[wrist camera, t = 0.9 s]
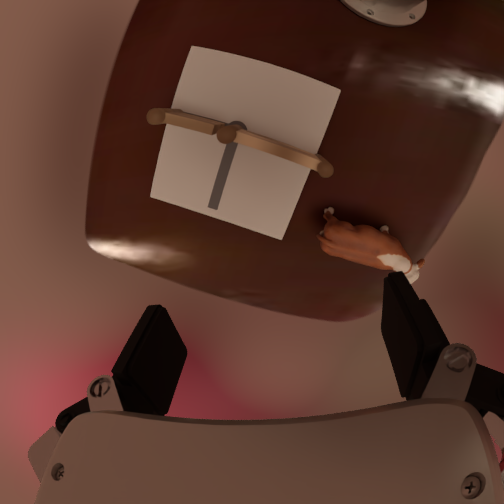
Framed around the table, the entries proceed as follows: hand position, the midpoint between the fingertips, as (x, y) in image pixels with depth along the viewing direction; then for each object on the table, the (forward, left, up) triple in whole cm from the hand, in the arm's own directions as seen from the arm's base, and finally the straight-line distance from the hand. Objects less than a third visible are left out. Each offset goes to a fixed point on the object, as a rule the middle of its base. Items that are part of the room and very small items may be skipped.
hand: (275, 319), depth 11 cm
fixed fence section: (-4, -10, -23) cm, 25 cm away
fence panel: (-4, -2, -22) cm, 22 cm away
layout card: (-3, -6, -23) cm, 24 cm away
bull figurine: (+2, +12, -23) cm, 26 cm away
